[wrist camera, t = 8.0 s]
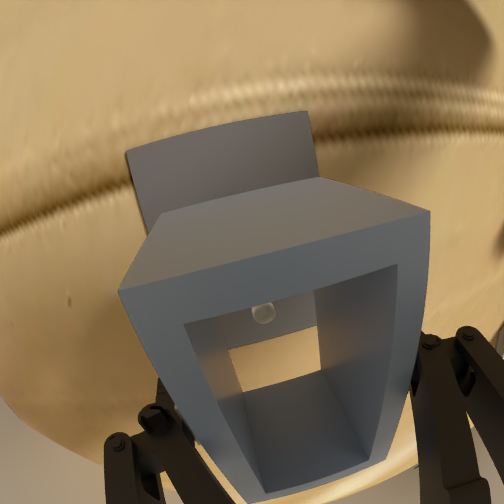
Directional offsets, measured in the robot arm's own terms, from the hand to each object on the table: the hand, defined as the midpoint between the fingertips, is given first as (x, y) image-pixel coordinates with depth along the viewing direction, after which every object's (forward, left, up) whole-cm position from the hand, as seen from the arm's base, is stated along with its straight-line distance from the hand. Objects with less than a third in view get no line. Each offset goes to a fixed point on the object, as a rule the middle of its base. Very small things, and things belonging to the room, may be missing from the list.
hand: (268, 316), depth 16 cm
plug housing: (0, 0, 0) cm, 0 cm away
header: (0, 0, -12) cm, 12 cm away
